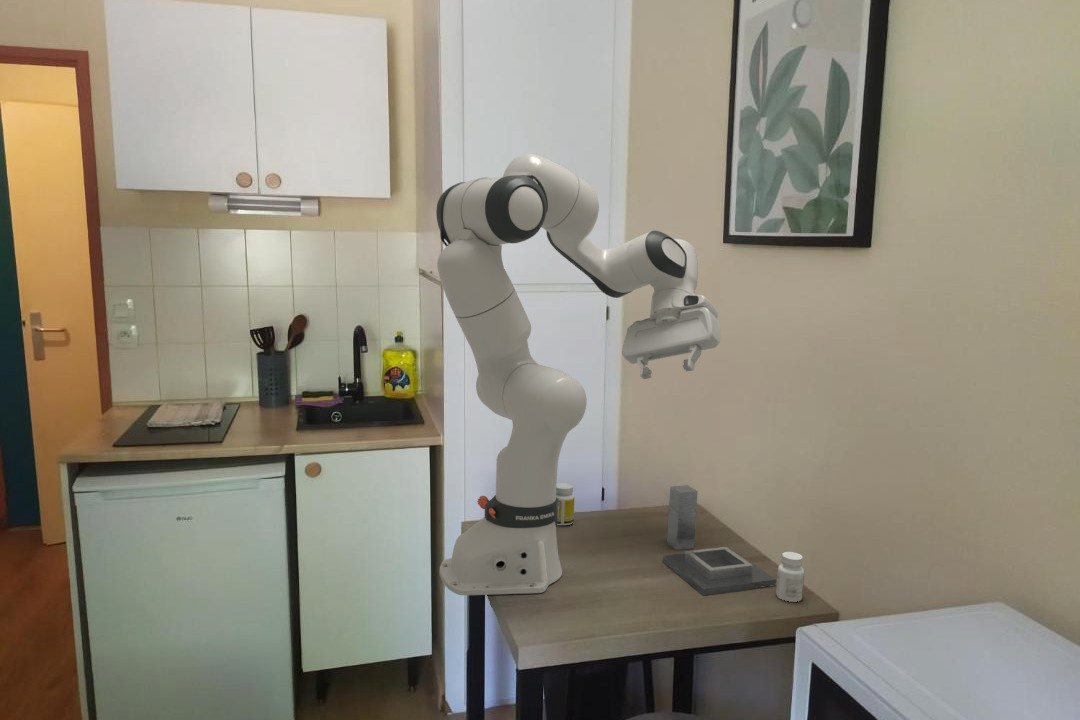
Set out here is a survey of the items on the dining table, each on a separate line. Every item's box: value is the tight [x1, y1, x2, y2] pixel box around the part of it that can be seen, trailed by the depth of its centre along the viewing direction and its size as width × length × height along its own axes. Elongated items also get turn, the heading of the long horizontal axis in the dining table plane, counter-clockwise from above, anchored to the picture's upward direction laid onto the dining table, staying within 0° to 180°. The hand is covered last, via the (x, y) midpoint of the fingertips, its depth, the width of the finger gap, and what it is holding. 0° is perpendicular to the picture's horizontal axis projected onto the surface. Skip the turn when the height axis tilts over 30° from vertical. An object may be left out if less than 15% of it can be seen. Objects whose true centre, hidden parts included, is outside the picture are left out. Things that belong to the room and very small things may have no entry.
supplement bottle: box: [556, 482, 575, 525], centre depth 166 cm, size 5×5×8 cm
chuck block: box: [662, 546, 777, 597], centre depth 142 cm, size 15×15×3 cm
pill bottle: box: [775, 551, 805, 603], centre depth 133 cm, size 4×4×8 cm
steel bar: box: [666, 485, 699, 551], centre depth 155 cm, size 4×4×12 cm
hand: (666, 373), depth 146 cm, fingers open, 8 cm apart
